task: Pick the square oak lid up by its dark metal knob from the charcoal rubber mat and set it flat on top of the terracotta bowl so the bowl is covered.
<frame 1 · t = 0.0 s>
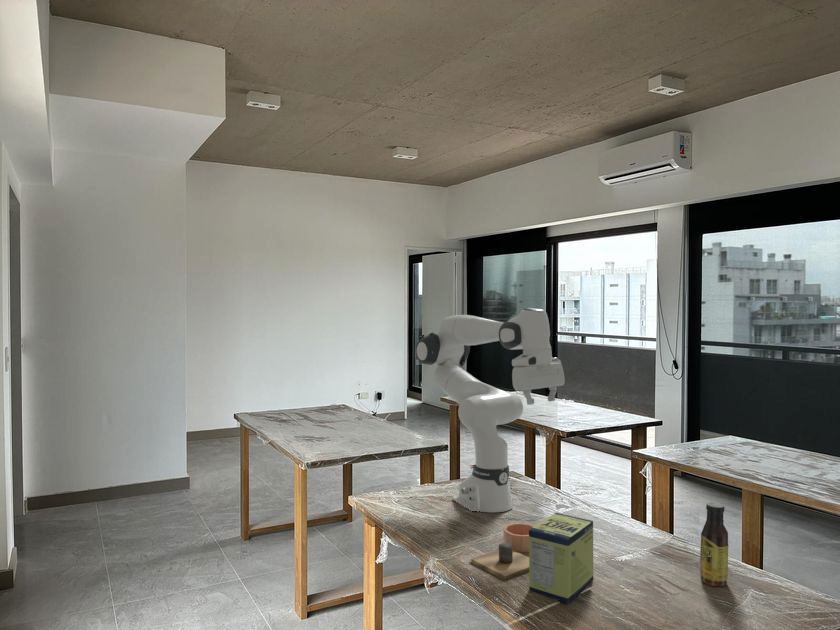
hand: (541, 402, 192), 39 cm above the table, tool pointing down, fingers open, 8 cm apart
protein box: (561, 587, 152), on the table
sauce bottle: (714, 583, 153), on the table
mat: (505, 566, 163), on the table
bowl: (521, 546, 176), on the table
lid: (505, 564, 163), point 1 cm above the table, touching mat
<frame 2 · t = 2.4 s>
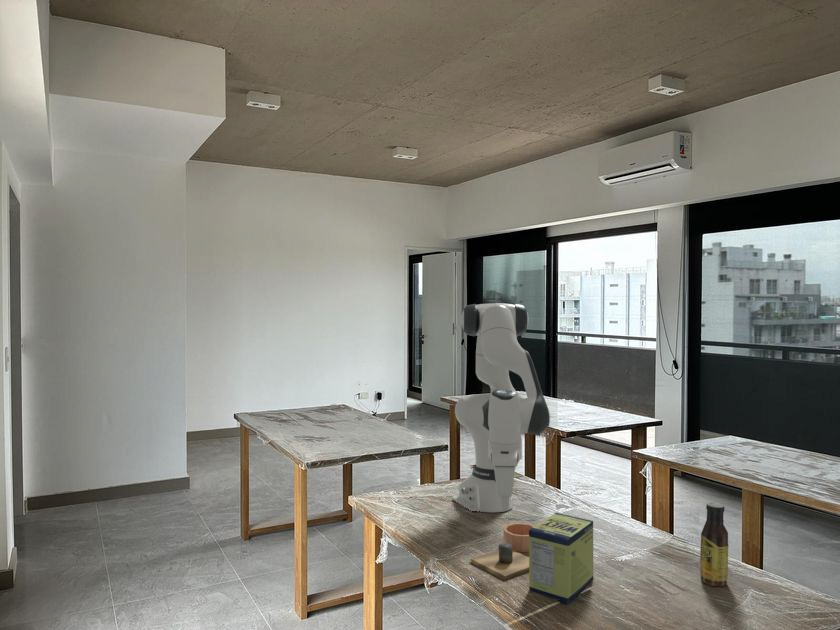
hand: (505, 503, 163), 17 cm above the table, tool pointing down, fingers open, 8 cm apart
nothing on the table moved.
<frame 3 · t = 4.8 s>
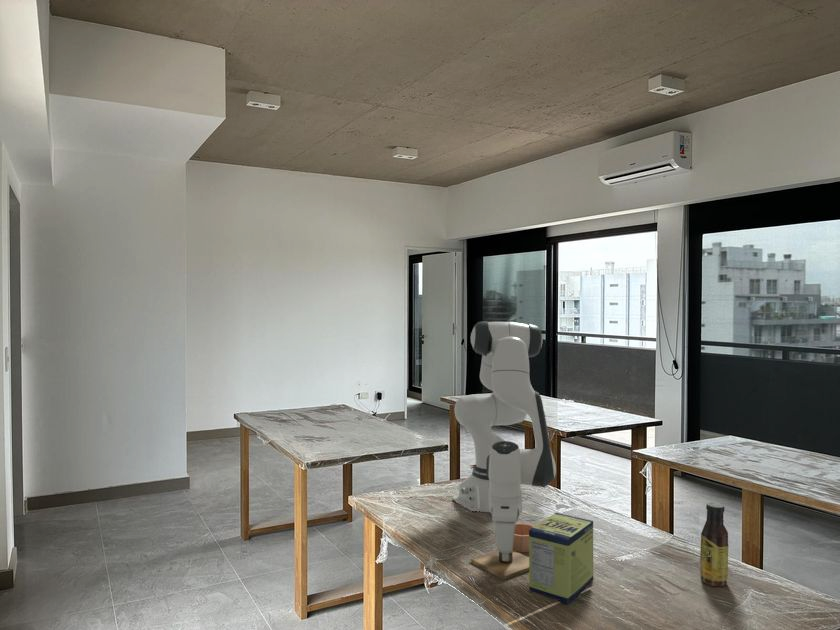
hand: (505, 555, 163), 3 cm above the table, tool pointing down, fingers closed on lid, 4 cm apart
lid: (505, 564, 163), point 1 cm above the table, touching gripper, mat
everything else where it was.
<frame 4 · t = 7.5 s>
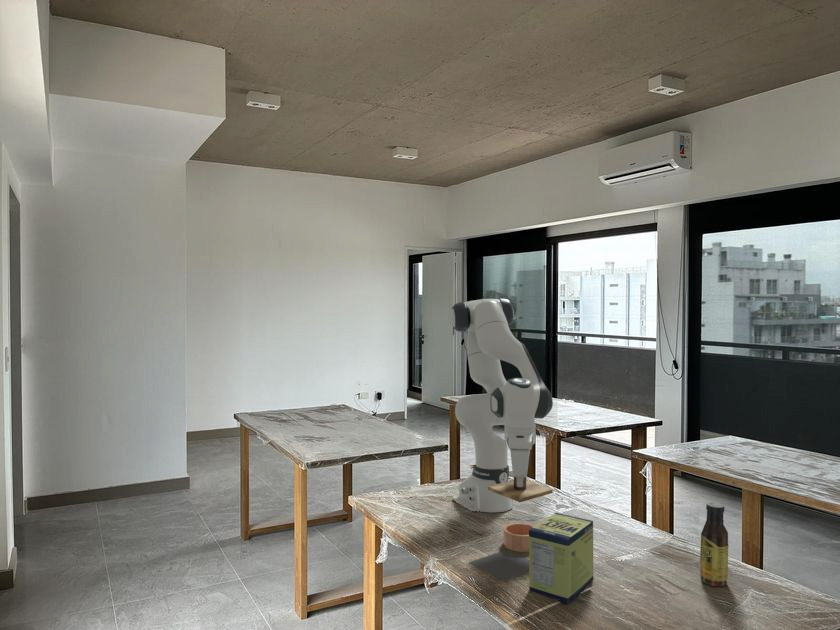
hand: (519, 483, 176), 18 cm above the table, tool pointing down, fingers closed on lid, 4 cm apart
lid: (519, 491, 176), point 16 cm above the table, touching gripper
everything else where it was.
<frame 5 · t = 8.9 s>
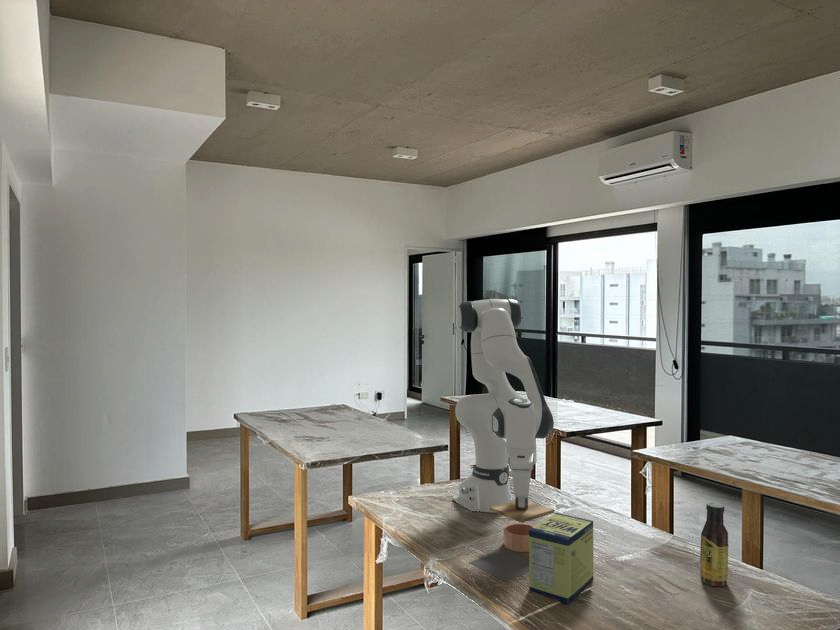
hand: (521, 503, 176), 12 cm above the table, tool pointing down, fingers closed on lid, 4 cm apart
lid: (521, 511, 176), point 10 cm above the table, touching gripper
everything else where it was.
when the fingers open (9 cm above the table, at t = 10.3 s): lid drops 2 cm, resting on bowl.
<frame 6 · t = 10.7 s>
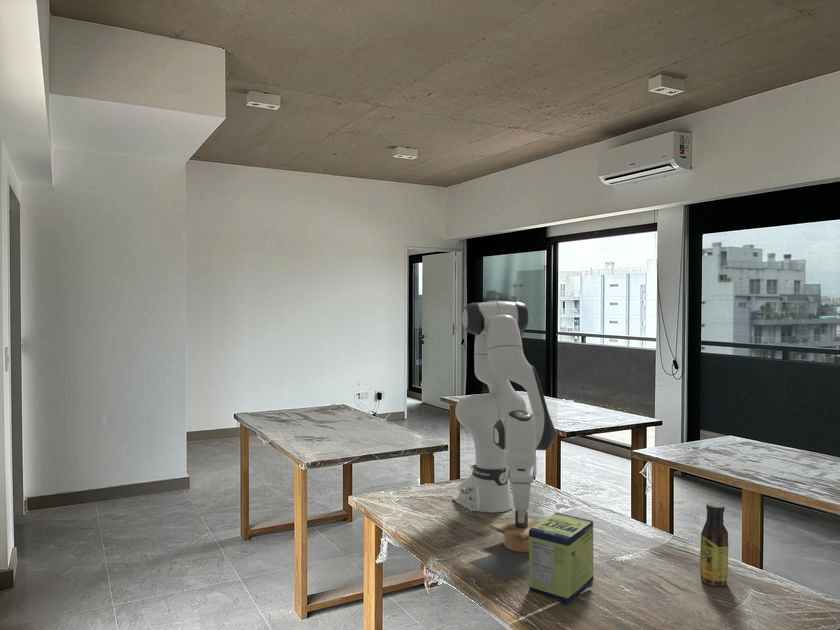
hand: (521, 516, 176), 9 cm above the table, tool pointing down, fingers open, 8 cm apart
lid: (521, 529, 176), point 5 cm above the table, touching bowl
everything else where it was.
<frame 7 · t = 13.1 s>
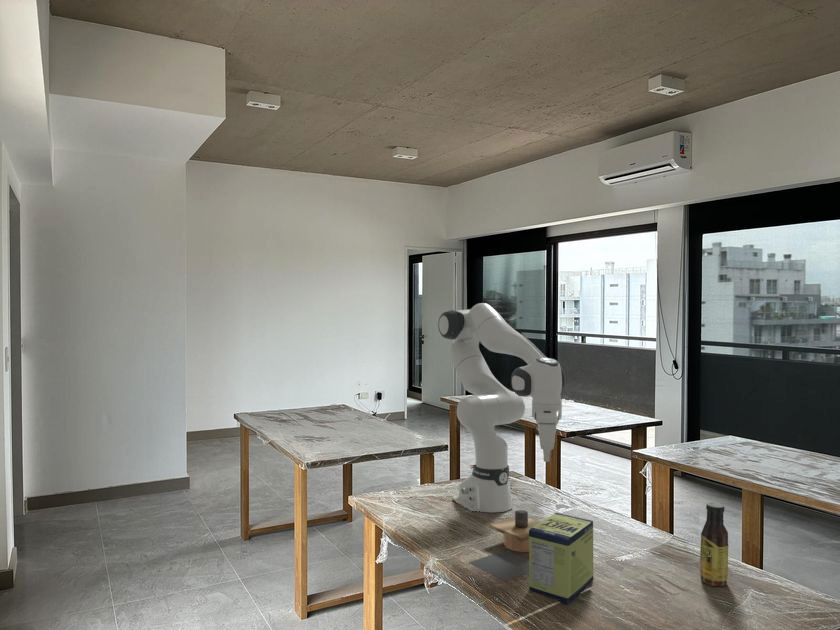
hand: (546, 456, 186), 23 cm above the table, tool pointing down, fingers open, 8 cm apart
nothing on the table moved.
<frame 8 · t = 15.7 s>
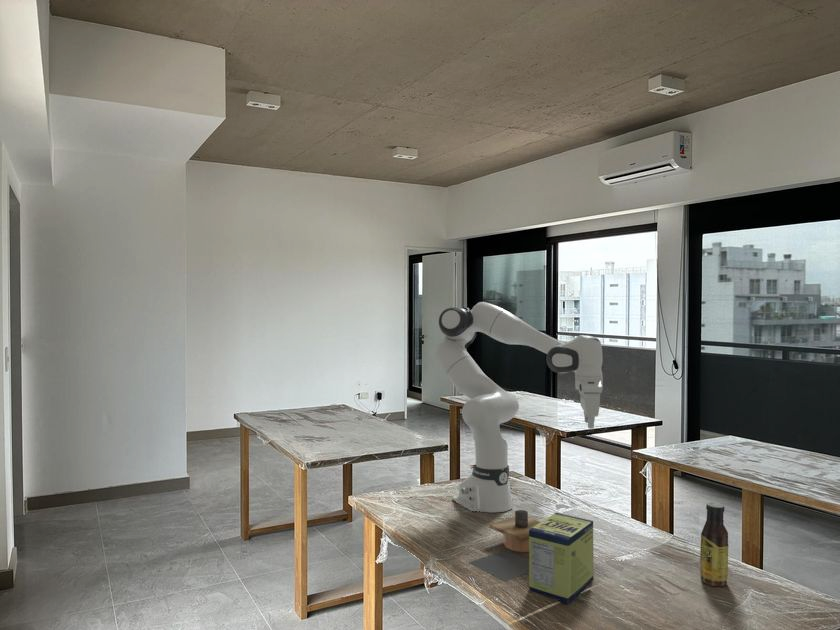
hand: (589, 425, 204), 29 cm above the table, tool pointing down, fingers open, 8 cm apart
nothing on the table moved.
at the end: lid 0.1 cm from the bowl (horizontally); lid point 5.0 cm above the table; lid tilted 0° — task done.
